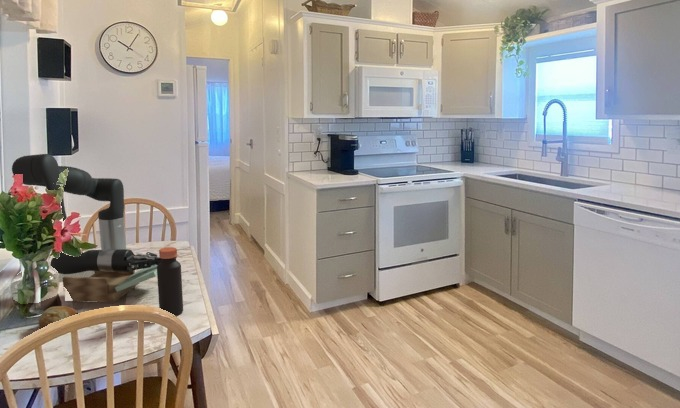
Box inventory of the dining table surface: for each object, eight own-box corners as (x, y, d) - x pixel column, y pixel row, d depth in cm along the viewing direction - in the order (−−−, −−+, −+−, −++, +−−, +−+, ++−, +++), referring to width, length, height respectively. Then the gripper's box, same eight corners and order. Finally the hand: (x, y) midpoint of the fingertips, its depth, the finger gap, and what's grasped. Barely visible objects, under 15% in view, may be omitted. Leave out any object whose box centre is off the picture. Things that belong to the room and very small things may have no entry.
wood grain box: (64, 301, 149) (62, 277, 148) (96, 280, 168) (94, 259, 166) (114, 302, 149) (112, 278, 147) (140, 281, 168) (139, 260, 166)
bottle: (157, 311, 143) (153, 248, 139) (179, 306, 147) (176, 245, 143) (162, 319, 138) (158, 254, 134) (186, 314, 141) (182, 250, 138)
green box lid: (114, 287, 150) (153, 272, 148) (137, 271, 165) (172, 256, 164) (118, 294, 150) (157, 279, 149) (140, 277, 166) (175, 263, 164)
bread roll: (43, 336, 134) (26, 316, 130) (77, 313, 140) (61, 293, 136) (52, 349, 127) (34, 328, 123) (88, 323, 133) (72, 303, 129)
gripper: (104, 255, 149) (158, 256, 148) (124, 244, 162) (174, 244, 161) (106, 278, 150) (160, 278, 150) (126, 265, 163) (175, 265, 163)
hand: (167, 261), depth 156 cm, fingers closed
